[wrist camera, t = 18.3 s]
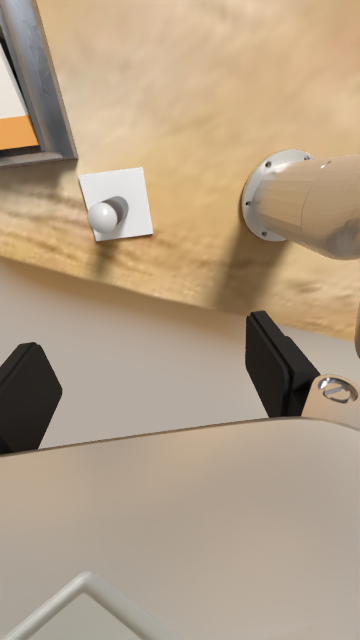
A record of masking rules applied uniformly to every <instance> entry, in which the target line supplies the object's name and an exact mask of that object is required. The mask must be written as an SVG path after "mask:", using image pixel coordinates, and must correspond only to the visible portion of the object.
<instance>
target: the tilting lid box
mask: <svg viewBox="0 0 360 640" xmlns="http://www.w3.org/2000/svg"><path fill="white" fill-rule="evenodd" d="M0 44H1V46H2V49H3V51H4V53H5V56H6V58H7V61H8V63H9V65H10V68H11V70H12V73H13V75H14V77H15V80H16V82H17V85H18V87H19V89H20V92H21V94H22V97H23V99H24V101H25V104H26V106H27V109H28V111H29V113H30V116H31V119H32V122H33V125H34V128H35V131H36V134H37V137H38V140H39V143H40V144H39V145H33V146H25V147H17V148H10V149H2V150H0V169H1V168H8V167H16V166H23V165H31V164H39V163H46V162H54V161H62V160H69V159H77V158H78V154H77V150H76V147H75V143H74V139H73V136H72V132H71V128H70V124H69V121H68V117H67V113H66V110H65V106H64V102H63V99H62V95H61V91H60V87H59V84H58V80H57V76H56V73H55V69H54V65H53V61H52V58H51V54H50V50H49V47H48V43H47V39H46V36H45V32H44V28H43V24H42V21H41V17H40V13H39V10H38V6H37V2H36V0H0Z"/></svg>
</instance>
